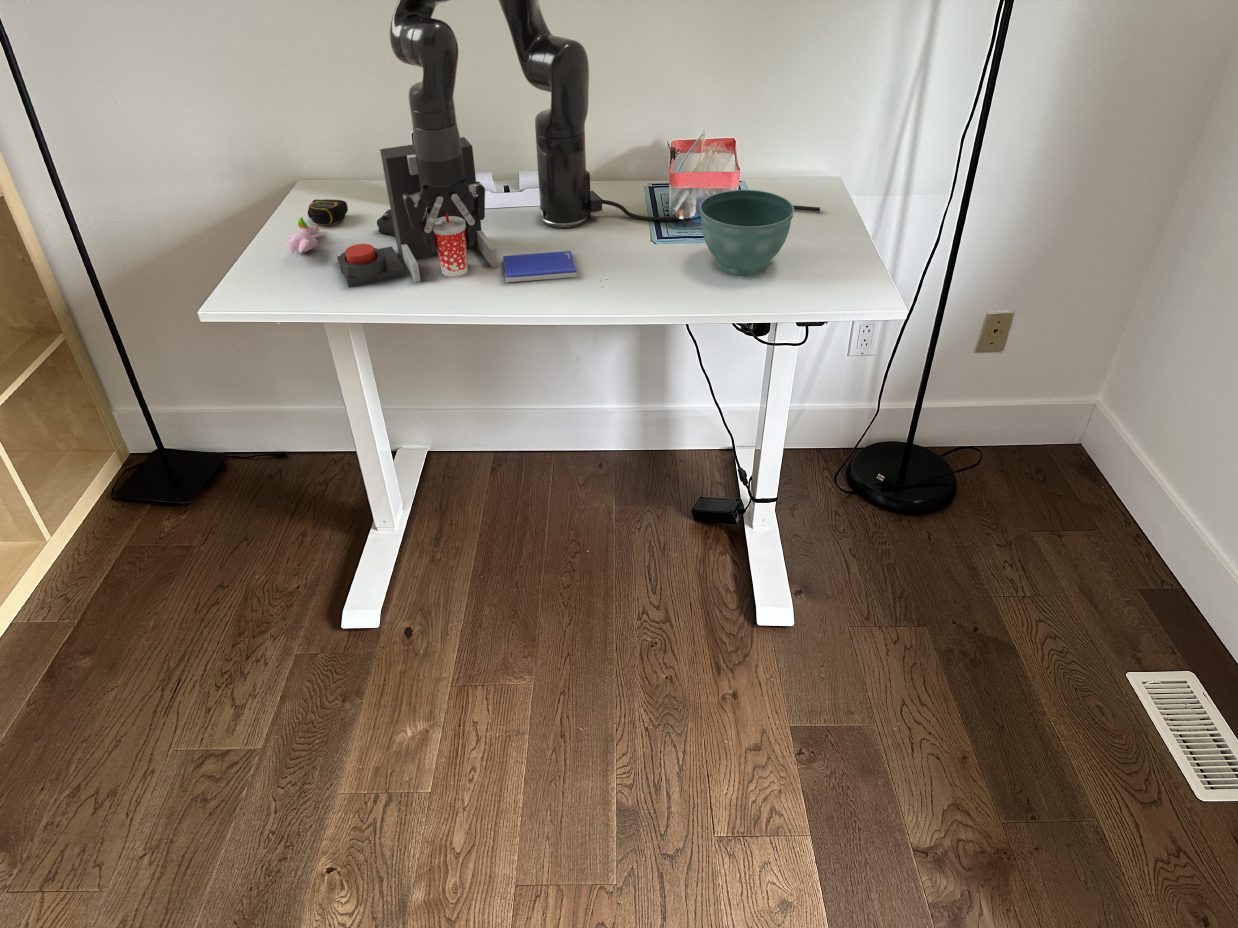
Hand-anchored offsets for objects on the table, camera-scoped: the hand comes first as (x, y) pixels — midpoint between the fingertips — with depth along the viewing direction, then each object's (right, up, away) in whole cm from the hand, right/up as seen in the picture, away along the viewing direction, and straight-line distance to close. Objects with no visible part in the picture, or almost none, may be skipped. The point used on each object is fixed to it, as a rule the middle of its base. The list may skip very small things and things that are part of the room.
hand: (451, 246), depth 152 cm
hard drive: (+15, -4, +3) cm, 16 cm away
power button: (-16, -2, 0) cm, 16 cm away
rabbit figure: (-29, +2, +10) cm, 31 cm away
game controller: (-13, +8, +17) cm, 23 cm away
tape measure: (-28, +10, +21) cm, 37 cm away
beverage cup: (0, -4, +3) cm, 5 cm away
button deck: (-15, -3, +3) cm, 16 cm away
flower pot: (+52, -2, +4) cm, 52 cm away
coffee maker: (-2, -1, +7) cm, 7 cm away
